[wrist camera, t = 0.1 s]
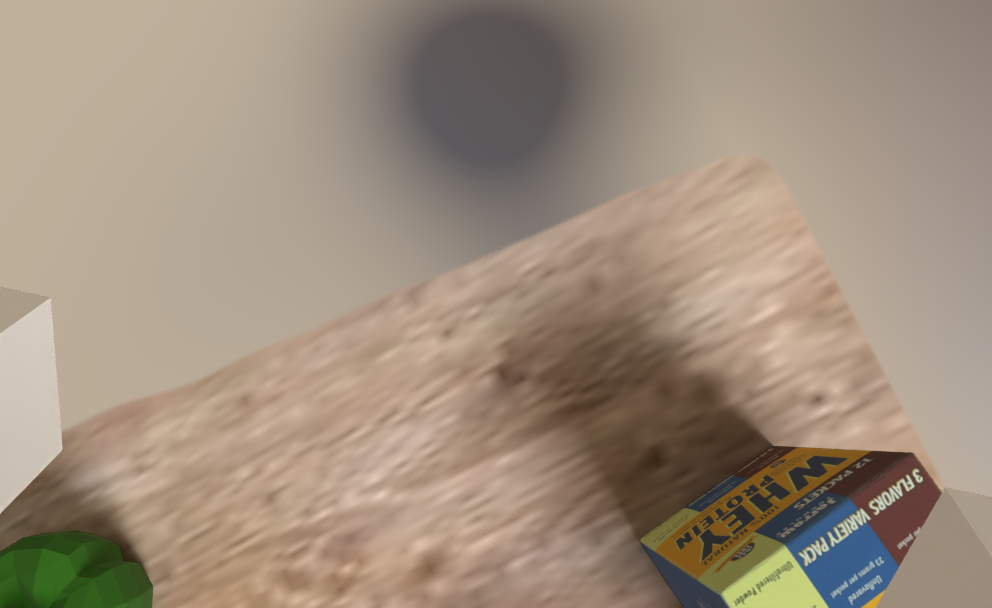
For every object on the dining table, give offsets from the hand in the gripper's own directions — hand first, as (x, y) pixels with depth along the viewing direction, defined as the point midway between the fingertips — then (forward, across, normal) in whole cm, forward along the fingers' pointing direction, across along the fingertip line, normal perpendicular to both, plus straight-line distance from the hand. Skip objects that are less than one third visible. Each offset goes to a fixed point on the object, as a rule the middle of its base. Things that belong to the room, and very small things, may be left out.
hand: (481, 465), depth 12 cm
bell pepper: (+22, +19, +32) cm, 43 cm away
